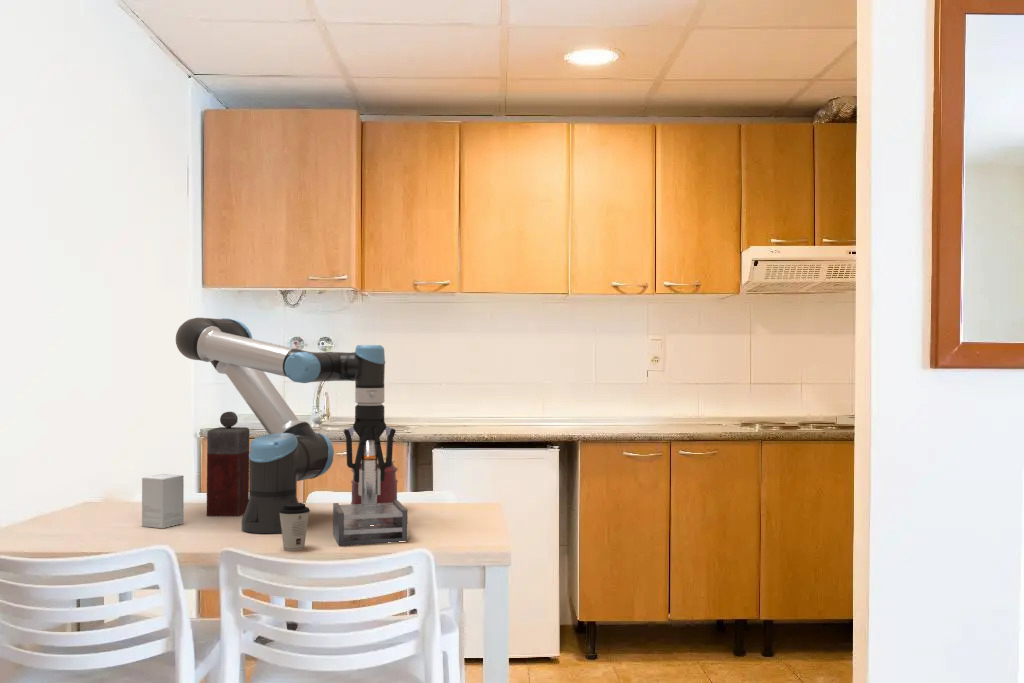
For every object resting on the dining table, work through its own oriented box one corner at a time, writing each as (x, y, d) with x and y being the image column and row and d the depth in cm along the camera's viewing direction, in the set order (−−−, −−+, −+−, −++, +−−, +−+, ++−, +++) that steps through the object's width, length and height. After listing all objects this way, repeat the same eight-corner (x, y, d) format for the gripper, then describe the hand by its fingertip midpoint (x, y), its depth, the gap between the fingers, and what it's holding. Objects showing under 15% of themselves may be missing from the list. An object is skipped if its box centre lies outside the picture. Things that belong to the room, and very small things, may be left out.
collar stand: (338, 545, 202) (338, 513, 203) (332, 533, 216) (333, 503, 216) (407, 542, 207) (407, 510, 207) (397, 530, 220) (397, 500, 221)
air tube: (362, 526, 225) (362, 440, 225) (360, 523, 229) (360, 439, 229) (377, 525, 226) (378, 440, 226) (375, 522, 230) (376, 438, 230)
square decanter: (251, 508, 249) (252, 410, 249) (239, 516, 238) (239, 412, 238) (220, 508, 249) (221, 409, 249) (206, 516, 238) (207, 412, 238)
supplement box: (184, 523, 227) (185, 475, 227) (162, 529, 220) (162, 478, 220) (163, 521, 230) (163, 473, 230) (140, 526, 223) (141, 476, 224)
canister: (383, 505, 256) (383, 444, 256) (406, 512, 246) (406, 448, 246) (342, 510, 248) (343, 447, 248) (364, 517, 238) (365, 452, 238)
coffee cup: (307, 551, 196) (307, 507, 197) (275, 552, 196) (275, 507, 196) (311, 545, 203) (312, 501, 203) (281, 545, 203) (281, 502, 203)
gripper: (338, 405, 222) (337, 498, 221) (404, 404, 227) (404, 495, 226) (335, 403, 229) (334, 493, 229) (400, 403, 234) (399, 490, 234)
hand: (369, 494), depth 227 cm, fingers closed on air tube, 4 cm apart
